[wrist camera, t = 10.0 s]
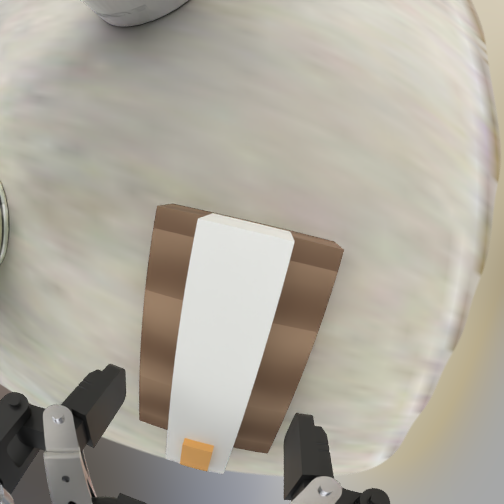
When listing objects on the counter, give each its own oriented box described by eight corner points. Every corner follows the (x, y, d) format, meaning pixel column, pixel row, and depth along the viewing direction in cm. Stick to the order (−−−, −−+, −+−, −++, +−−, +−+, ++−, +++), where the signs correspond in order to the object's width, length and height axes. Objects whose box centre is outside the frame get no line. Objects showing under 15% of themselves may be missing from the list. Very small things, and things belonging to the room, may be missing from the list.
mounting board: (172, 203, 17) (157, 205, 15) (334, 241, 17) (344, 249, 14) (150, 401, 21) (139, 420, 18) (268, 431, 20) (267, 453, 18)
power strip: (219, 210, 17) (194, 219, 11) (288, 226, 16) (295, 244, 11) (183, 414, 20) (163, 464, 14) (232, 427, 20) (222, 480, 14)
